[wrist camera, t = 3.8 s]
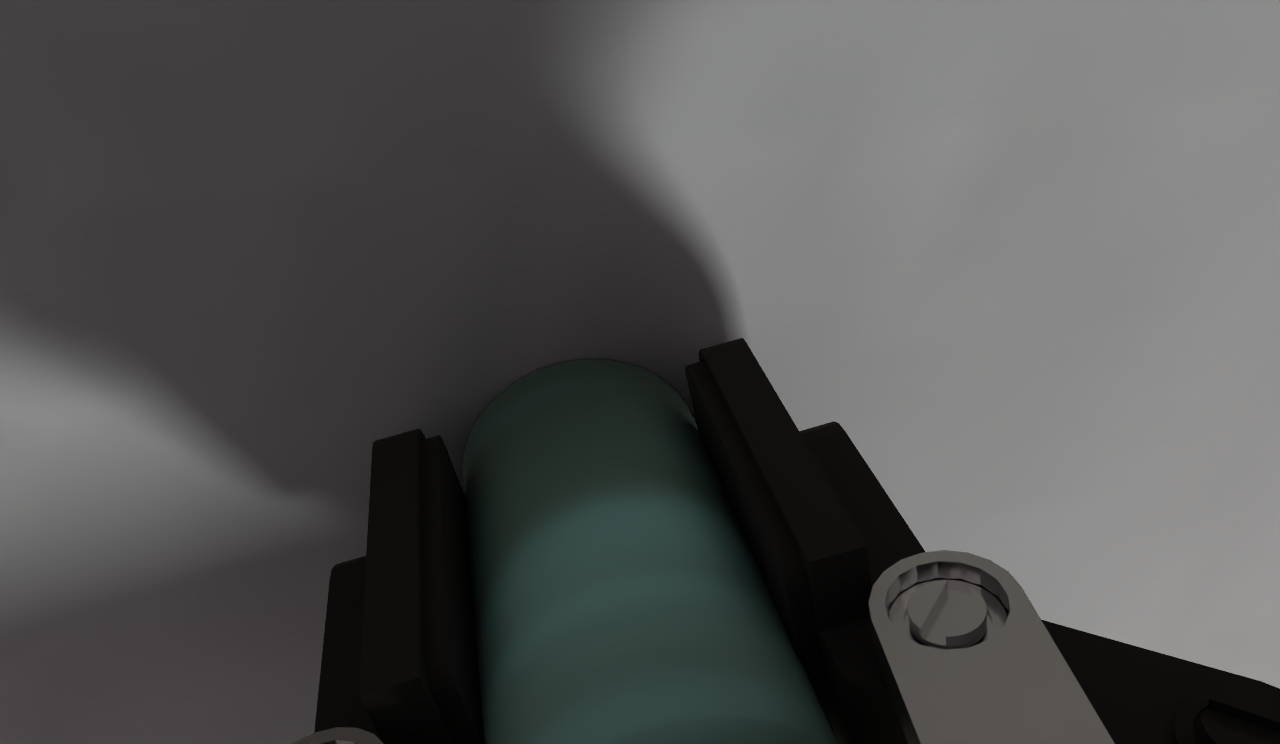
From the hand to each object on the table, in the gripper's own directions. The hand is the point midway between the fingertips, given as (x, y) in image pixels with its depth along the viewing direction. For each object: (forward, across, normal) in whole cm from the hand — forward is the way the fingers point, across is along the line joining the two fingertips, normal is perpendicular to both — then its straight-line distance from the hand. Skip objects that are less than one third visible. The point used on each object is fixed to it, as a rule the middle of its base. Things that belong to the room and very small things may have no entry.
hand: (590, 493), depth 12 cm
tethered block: (+1, 0, +8) cm, 8 cm away
